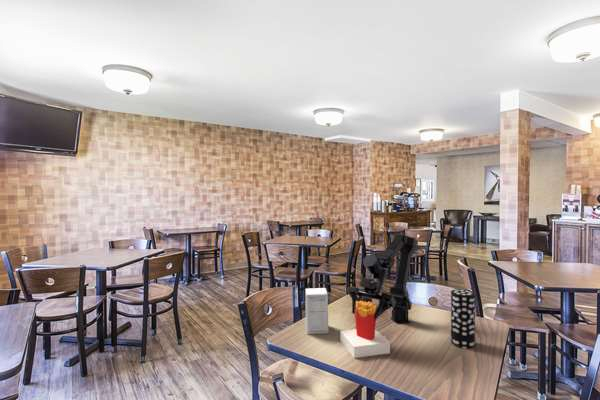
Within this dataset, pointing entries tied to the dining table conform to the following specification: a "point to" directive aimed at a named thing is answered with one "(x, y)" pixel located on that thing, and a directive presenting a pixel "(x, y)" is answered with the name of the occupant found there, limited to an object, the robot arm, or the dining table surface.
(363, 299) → the pine cone
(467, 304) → the white-spotted black cylinder
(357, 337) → the white flat square block
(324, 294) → the supplement box
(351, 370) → the dining table surface
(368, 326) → the french fries
